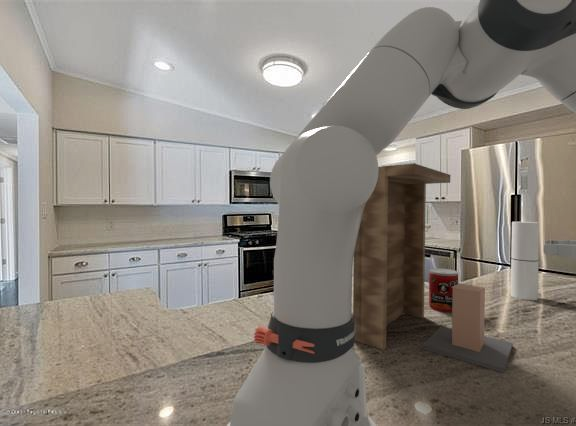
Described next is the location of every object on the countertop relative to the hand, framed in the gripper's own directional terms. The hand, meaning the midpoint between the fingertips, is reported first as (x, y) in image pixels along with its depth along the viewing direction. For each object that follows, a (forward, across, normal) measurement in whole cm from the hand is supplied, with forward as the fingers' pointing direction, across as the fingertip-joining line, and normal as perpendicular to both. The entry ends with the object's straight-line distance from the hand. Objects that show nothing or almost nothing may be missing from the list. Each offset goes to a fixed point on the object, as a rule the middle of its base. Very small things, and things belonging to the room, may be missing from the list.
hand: (544, 246), depth 56 cm
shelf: (+25, 0, +23) cm, 34 cm away
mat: (+12, 0, +23) cm, 26 cm away
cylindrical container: (+6, -56, +22) cm, 60 cm away
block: (+12, 0, +22) cm, 25 cm away
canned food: (+23, -25, +23) cm, 41 cm away
